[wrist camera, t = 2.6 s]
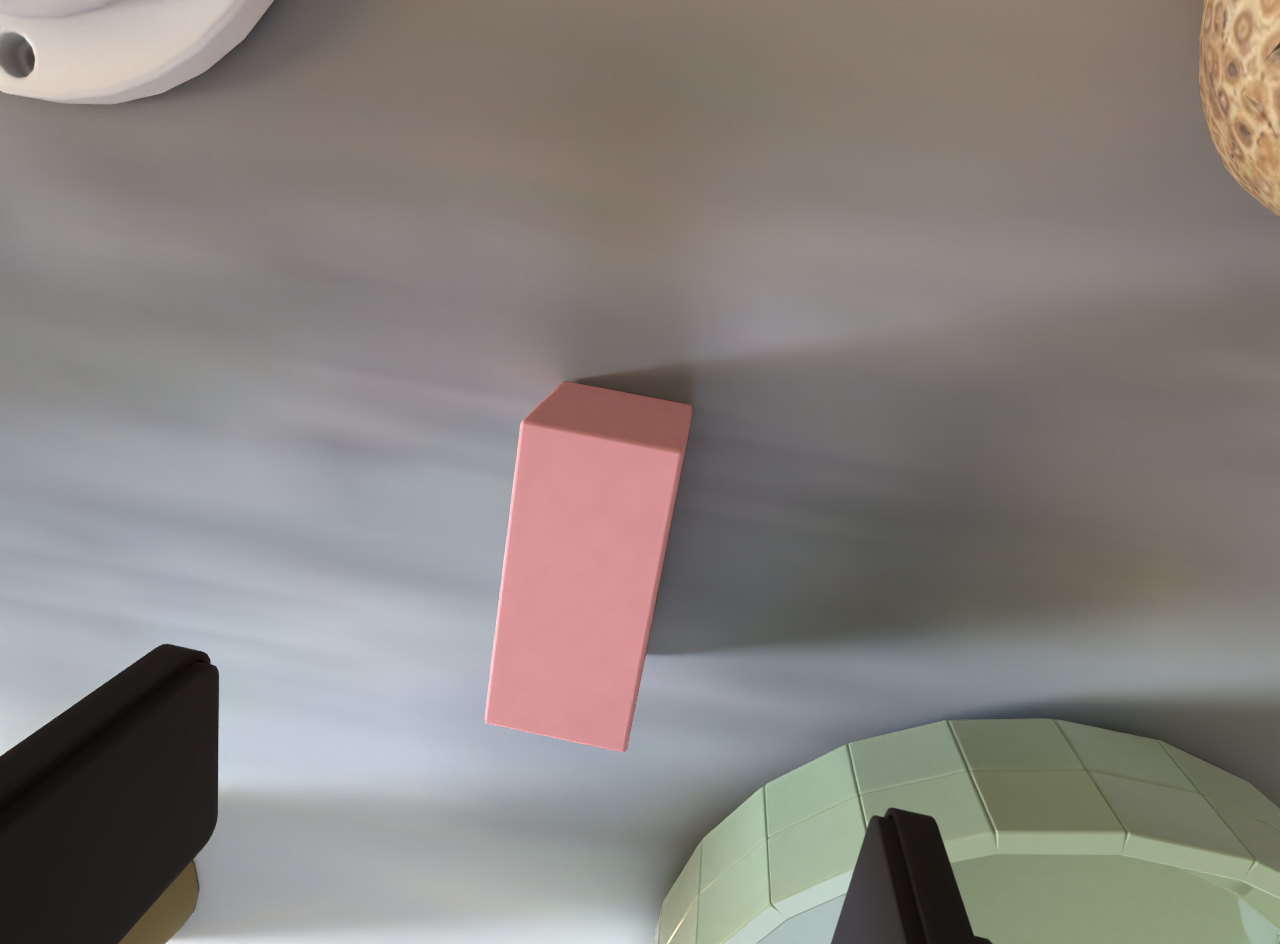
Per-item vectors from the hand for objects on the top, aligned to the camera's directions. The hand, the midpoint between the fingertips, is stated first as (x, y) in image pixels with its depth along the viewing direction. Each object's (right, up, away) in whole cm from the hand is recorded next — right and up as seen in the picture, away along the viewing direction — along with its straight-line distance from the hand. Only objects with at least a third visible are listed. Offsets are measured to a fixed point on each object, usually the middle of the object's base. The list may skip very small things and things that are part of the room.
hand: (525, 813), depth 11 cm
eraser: (+1, +3, +9) cm, 10 cm away
